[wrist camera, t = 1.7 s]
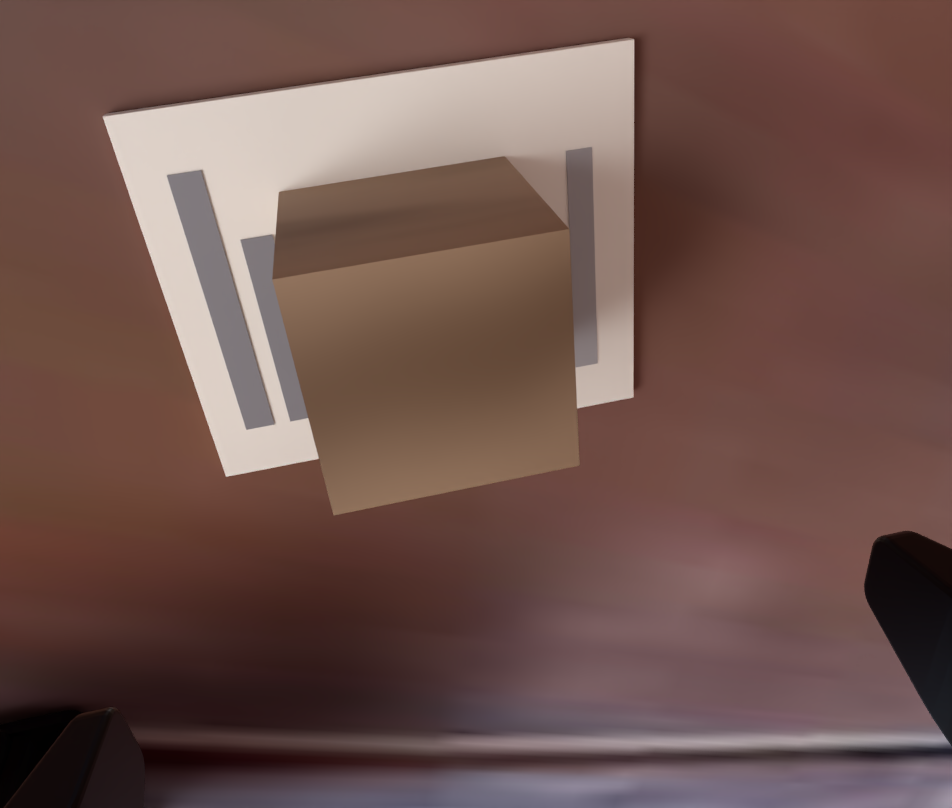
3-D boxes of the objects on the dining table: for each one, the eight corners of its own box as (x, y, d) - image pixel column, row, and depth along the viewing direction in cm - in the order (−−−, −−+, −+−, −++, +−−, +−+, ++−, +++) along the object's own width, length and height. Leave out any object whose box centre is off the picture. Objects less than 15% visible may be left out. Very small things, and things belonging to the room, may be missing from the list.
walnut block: (521, 353, 20) (579, 465, 16) (326, 389, 20) (333, 515, 16) (504, 156, 18) (569, 229, 13) (278, 191, 17) (272, 279, 13)
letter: (629, 392, 22) (633, 398, 22) (226, 470, 21) (226, 477, 20) (629, 38, 17) (635, 39, 17) (105, 113, 16) (101, 117, 16)
